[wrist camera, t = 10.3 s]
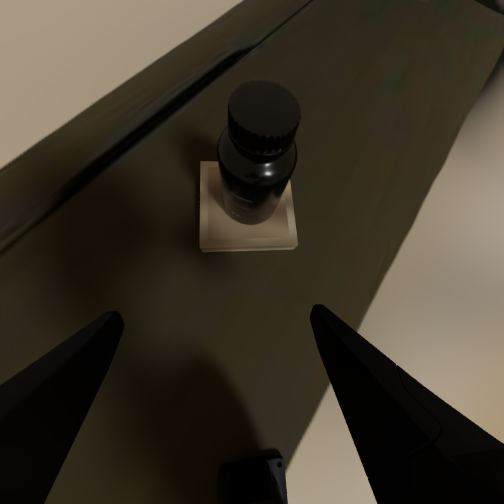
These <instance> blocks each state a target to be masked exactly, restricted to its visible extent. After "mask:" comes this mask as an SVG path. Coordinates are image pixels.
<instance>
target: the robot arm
mask: <svg viewBox="0 0 504 504" xmlns="http://www.w3.org/2000/svg"><path fill="white" fill-rule="evenodd" d="M310 322H311V325H312V329H313V332H314V336H315V340H316V343H317V347H318V350H319V353H320V356H321V359H322V361H323V364H324V366H325V369H326V371H327V374H328V377H329V379H330V382H331V384H332V387H333V389H334V392H335V395H336V397H337V400H338V403H339V405H340V408H341V410H342V413H343V415H344V418H345V421H346V423H347V425H348V428H349V431H350V434H351V436H352V439H353V441H354V444H355V447H356V449H357V452H358V454H359V457H360V460H361V462H362V464H363V467H364V470H365V473H366V475H367V477H368V481H369V483H370V486H371V488H372V491H373V494H374V496H375V499H376V501H377V504H504V444H503V443H502V442H500V441H499V440H497V439H496V438H494V437H493V436H492V435H490V434H489V433H487V432H486V431H484V430H483V429H482V428H480V427H479V426H478V425H476V424H475V423H474V422H472V421H471V420H469V419H468V418H467V417H465V416H464V415H463V414H461V413H460V412H458V411H457V410H456V409H454V408H453V407H451V406H450V405H449V404H447V403H446V402H445V401H443V400H442V399H440V398H439V397H438V396H437V395H435V394H434V393H433V392H431V391H430V390H428V389H427V388H426V387H424V386H423V385H422V384H421V383H419V382H418V381H417V380H416V379H414V378H413V377H412V376H410V375H409V374H408V373H407V372H405V371H404V370H403V369H402V368H400V367H399V366H398V365H396V364H395V363H394V362H393V361H392V360H390V359H389V358H388V357H387V356H386V355H384V354H383V353H382V352H381V351H379V350H378V349H377V348H376V347H374V346H373V345H372V344H370V343H369V342H368V341H367V340H366V339H365V338H363V337H362V336H361V335H360V334H358V333H357V332H356V331H355V330H353V329H352V328H351V327H350V326H348V325H347V324H346V323H345V322H344V321H342V320H341V319H340V318H339V317H337V316H336V315H335V314H334V313H332V312H331V311H330V310H329V309H327V308H326V307H325V306H324V305H322V304H316V305H314V306H313V308H312V311H311V314H310ZM123 330H124V322H123V319H122V317H121V315H120V313H119V312H118V311H109V312H106V313H104V314H103V315H101V316H100V317H99V318H97V319H96V320H94V321H93V322H91V323H90V324H88V325H87V326H86V327H84V328H83V329H81V330H80V331H78V332H77V333H75V334H74V335H72V336H71V337H70V338H68V339H67V340H65V341H64V342H62V343H61V344H59V345H58V346H57V347H55V348H54V349H52V350H51V351H49V352H48V353H46V354H45V355H44V356H42V357H41V358H39V359H38V360H36V361H35V362H33V363H32V364H31V365H29V366H28V367H26V368H25V369H23V370H22V371H20V372H19V373H17V374H16V375H15V376H13V377H12V378H10V379H9V380H7V381H6V382H4V383H3V384H2V385H0V504H44V502H45V500H46V498H47V496H48V494H49V492H50V490H51V488H52V486H53V484H54V482H55V480H56V477H57V475H58V473H59V471H60V469H61V467H62V465H63V463H64V461H65V459H66V457H67V455H68V453H69V450H70V448H71V446H72V444H73V442H74V440H75V438H76V436H77V434H78V432H79V430H80V428H81V425H82V423H83V421H84V419H85V417H86V415H87V413H88V411H89V409H90V407H91V405H92V403H93V400H94V398H95V396H96V394H97V392H98V390H99V388H100V386H101V384H102V382H103V380H104V378H105V376H106V373H107V371H108V369H109V367H110V365H111V362H112V360H113V357H114V354H115V352H116V349H117V346H118V343H119V341H120V338H121V335H122V332H123ZM279 461H281V462H280V464H277V463H278V462H279ZM223 471H225V472H226V473H225V474H222V472H223ZM218 487H219V504H288V502H287V489H286V477H285V465H284V460H283V457H282V456H281V455H274V456H268V457H259V458H254V459H248V460H242V461H240V462H234V463H229V464H223V465H222V466H221V467H220V468H219V474H218Z"/></svg>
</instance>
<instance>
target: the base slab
mask: <svg viewBox="0 0 504 504" xmlns="http://www.w3.org/2000/svg"><path fill="white" fill-rule="evenodd" d="M296 246H298V241H297V233H296V225H295V217H294V209H293V202H292V194H291V186H290V180H289V182H288V184H287V186H286V188H285V190H284V193H283V195H282V197H281V199H280V201H279V203H278V205H277V207H276V209H275V211H274V213H273V214H272V216H271V217H270V218H269V219H268V220H266V221H265V222H263V223H261V224H257V225H244V224H241V223H239V222H237V221H235V220H234V219H232V218H231V217H230V216H229V215H228V213H227V212H226V210H225V208H224V205H223V200H222V192H221V183H220V175H219V167H218V162H214V161H201V169H200V249H201V251H202V252H221V251H255V250H288V249H294V248H295V247H296Z"/></svg>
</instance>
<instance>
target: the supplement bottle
mask: <svg viewBox="0 0 504 504" xmlns="http://www.w3.org/2000/svg"><path fill="white" fill-rule="evenodd" d="M300 118H301V108H300V104H299V102H298V99H297V98H296V97H295V96H294V94H293V93H292V92H290V90H289V89H287V88H285V87H284V86H283V85H280V84H279V83H276V82H273V81H267V80H259V79H257V80H250V81H247V82H244V83H243V84H239V86H238V87H236V88H235V89H234V91H233V92H232V93H231V96H230V97H229V103H228V122H227V127H226V128H225V129H224V131H223V132H222V134H221V136H220V138H219V141H218V145H217V158H218V167H219V175H220V183H221V192H222V200H223V205H224V208H225V210H226V212H227V213H228V215H229V216H230V217H231V218H232V219H234V220H235V221H237V222H239V223H241V224H244V225H257V224H261V223H263V222H265V221H266V220H268V219H269V218H270V217H271V216H272V214H273V213H274V211H275V209H276V207H277V205H278V203H279V201H280V199H281V197H282V195H283V193H284V190H285V188H286V186H287V184H288V182H289V180H290V178H291V176H292V174H293V171H294V169H295V166H296V163H297V147H296V143H295V141H294V139H295V136H296V131H297V128H298V125H299V121H300Z"/></svg>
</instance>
